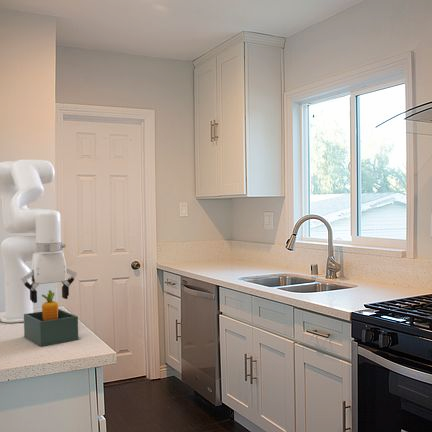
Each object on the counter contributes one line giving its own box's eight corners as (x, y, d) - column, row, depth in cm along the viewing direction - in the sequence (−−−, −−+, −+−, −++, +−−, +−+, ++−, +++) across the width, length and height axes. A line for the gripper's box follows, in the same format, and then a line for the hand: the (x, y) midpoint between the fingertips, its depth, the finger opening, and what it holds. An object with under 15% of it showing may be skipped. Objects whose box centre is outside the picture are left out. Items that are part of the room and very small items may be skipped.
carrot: (52, 338, 174) (51, 292, 174) (39, 337, 175) (38, 291, 175) (62, 334, 179) (61, 289, 178) (49, 334, 180) (47, 289, 179)
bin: (24, 336, 179) (23, 314, 179) (60, 330, 187) (59, 309, 187) (40, 346, 167) (40, 322, 167) (78, 339, 175) (77, 316, 174)
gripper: (71, 245, 185) (72, 295, 185) (16, 249, 173) (18, 302, 174) (79, 247, 179) (80, 298, 180) (23, 251, 168) (25, 305, 168)
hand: (49, 300), depth 177 cm, fingers open, 9 cm apart
